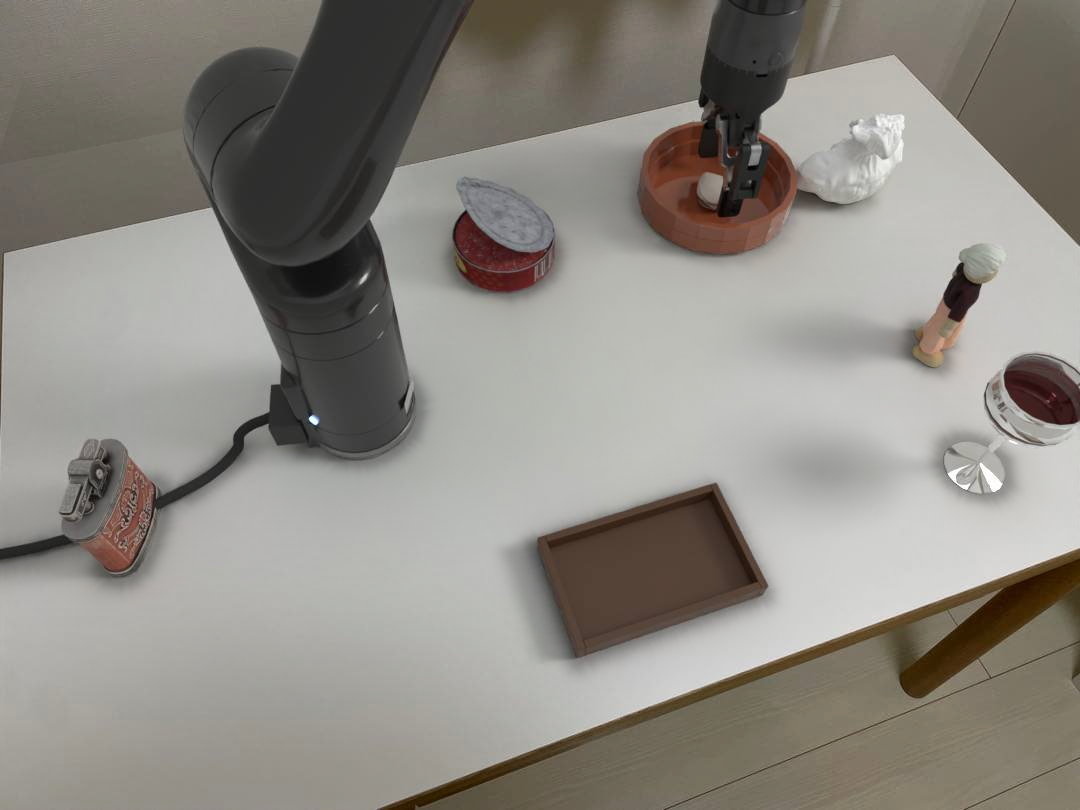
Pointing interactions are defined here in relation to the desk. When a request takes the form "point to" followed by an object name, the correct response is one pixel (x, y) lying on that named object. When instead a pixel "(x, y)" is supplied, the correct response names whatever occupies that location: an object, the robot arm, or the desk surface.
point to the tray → (649, 568)
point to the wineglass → (1020, 416)
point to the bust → (855, 161)
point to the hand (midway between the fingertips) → (717, 184)
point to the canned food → (501, 238)
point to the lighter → (109, 506)
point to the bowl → (676, 206)
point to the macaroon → (709, 190)
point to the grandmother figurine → (957, 301)
